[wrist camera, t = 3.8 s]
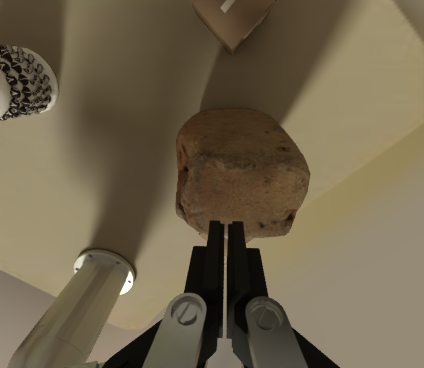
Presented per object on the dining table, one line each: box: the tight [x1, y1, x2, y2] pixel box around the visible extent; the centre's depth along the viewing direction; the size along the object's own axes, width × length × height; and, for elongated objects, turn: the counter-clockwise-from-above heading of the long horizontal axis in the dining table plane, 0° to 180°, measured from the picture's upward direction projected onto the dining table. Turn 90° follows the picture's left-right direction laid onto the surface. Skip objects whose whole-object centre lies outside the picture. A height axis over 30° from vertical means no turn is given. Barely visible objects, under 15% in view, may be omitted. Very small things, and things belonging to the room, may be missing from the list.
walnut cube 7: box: [189, 0, 276, 55], centre depth 23 cm, size 6×6×6 cm
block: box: [176, 108, 310, 238], centre depth 23 cm, size 11×8×20 cm
